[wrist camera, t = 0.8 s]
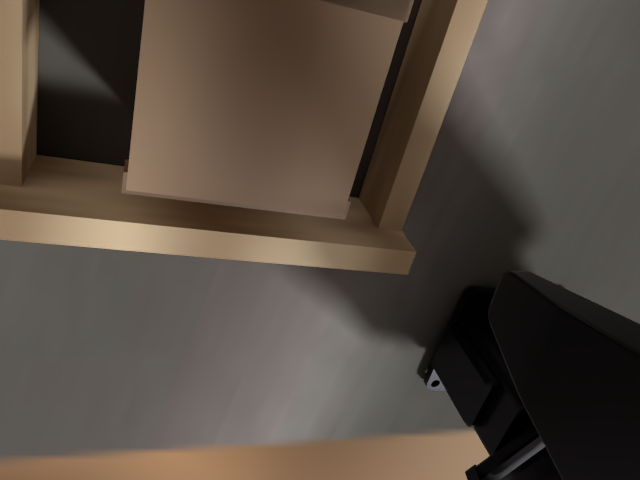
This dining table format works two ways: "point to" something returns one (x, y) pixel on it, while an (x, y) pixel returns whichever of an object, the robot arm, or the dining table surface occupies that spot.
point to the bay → (219, 220)
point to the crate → (259, 100)
